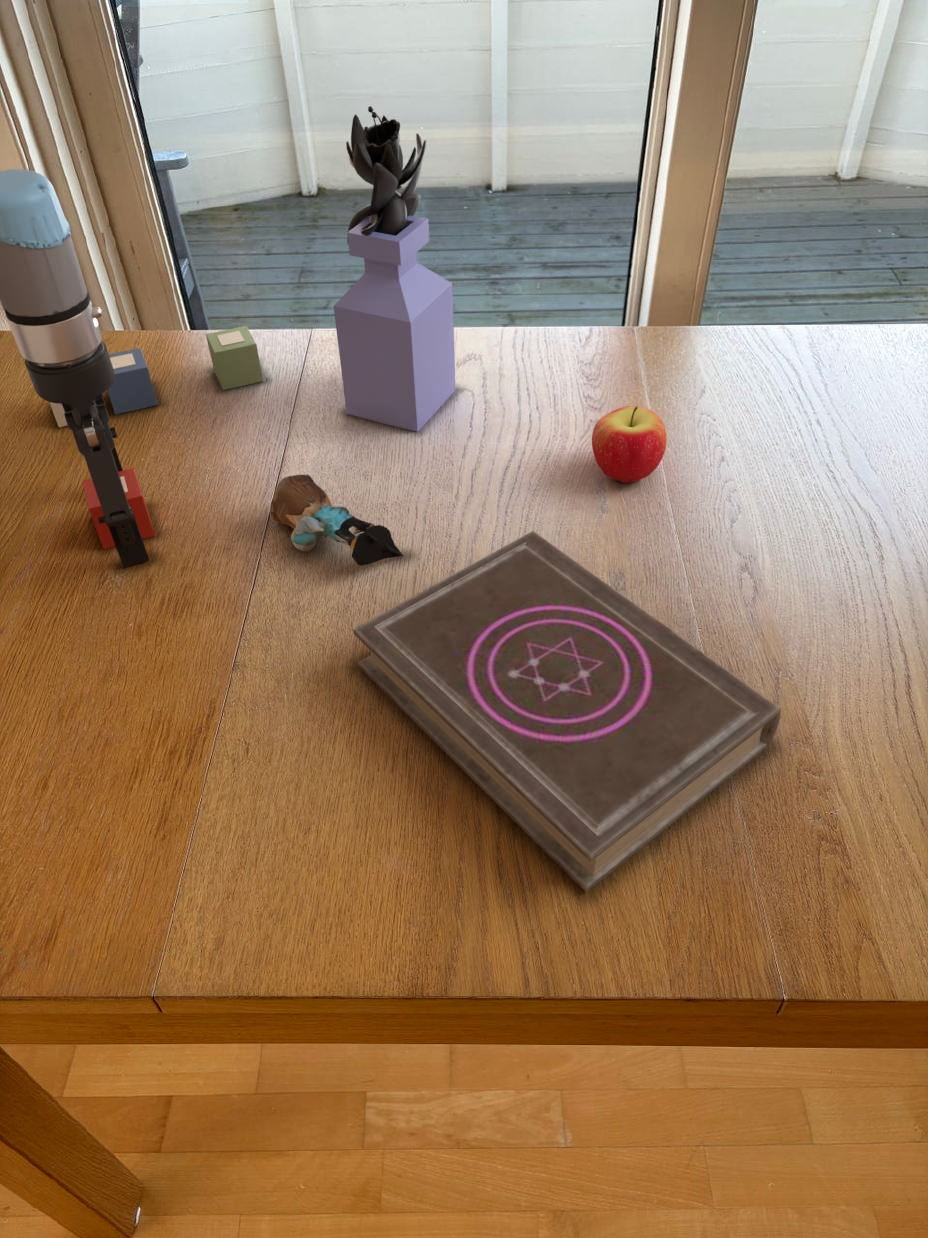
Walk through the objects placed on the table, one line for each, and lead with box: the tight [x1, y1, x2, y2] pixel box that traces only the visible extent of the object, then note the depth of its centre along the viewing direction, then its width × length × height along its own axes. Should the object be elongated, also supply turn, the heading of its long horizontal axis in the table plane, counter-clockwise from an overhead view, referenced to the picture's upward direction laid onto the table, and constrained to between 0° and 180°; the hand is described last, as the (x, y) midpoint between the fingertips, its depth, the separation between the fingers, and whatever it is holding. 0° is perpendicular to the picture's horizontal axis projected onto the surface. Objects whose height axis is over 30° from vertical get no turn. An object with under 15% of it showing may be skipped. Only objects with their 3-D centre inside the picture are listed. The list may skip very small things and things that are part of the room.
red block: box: [82, 467, 156, 550], centre depth 103 cm, size 6×6×6 cm
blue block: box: [106, 347, 159, 415], centre depth 122 cm, size 6×6×6 cm
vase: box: [333, 106, 457, 433], centre depth 111 cm, size 14×12×35 cm
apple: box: [591, 405, 668, 483], centre depth 107 cm, size 8×8×10 cm
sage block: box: [205, 325, 264, 391], centre depth 126 cm, size 6×6×6 cm
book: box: [352, 530, 782, 893], centre depth 84 cm, size 30×22×5 cm
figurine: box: [269, 474, 405, 567], centre depth 100 cm, size 8×16×6 cm, turn 48°
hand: (126, 526), depth 105 cm, fingers open, 12 cm apart
